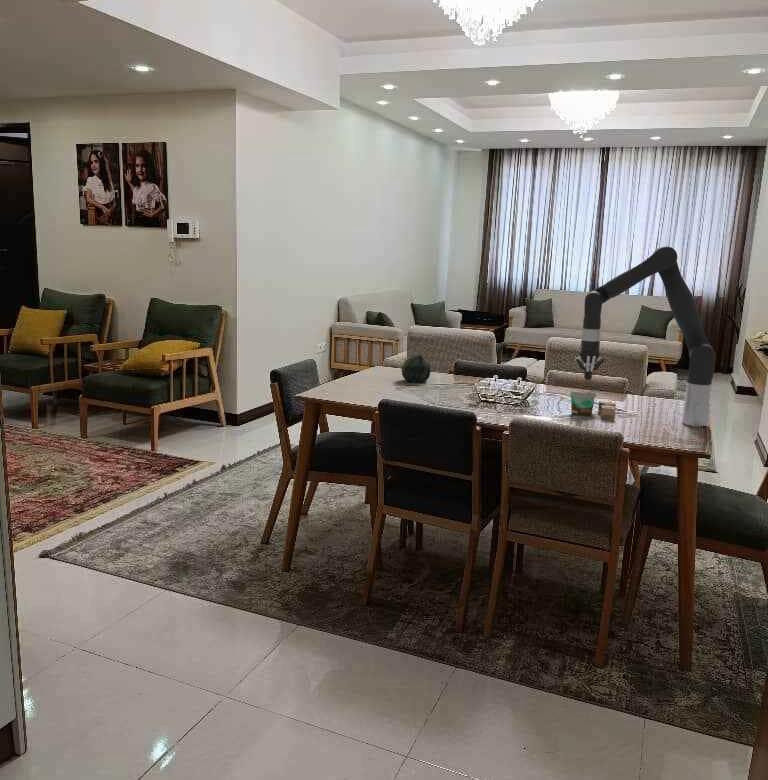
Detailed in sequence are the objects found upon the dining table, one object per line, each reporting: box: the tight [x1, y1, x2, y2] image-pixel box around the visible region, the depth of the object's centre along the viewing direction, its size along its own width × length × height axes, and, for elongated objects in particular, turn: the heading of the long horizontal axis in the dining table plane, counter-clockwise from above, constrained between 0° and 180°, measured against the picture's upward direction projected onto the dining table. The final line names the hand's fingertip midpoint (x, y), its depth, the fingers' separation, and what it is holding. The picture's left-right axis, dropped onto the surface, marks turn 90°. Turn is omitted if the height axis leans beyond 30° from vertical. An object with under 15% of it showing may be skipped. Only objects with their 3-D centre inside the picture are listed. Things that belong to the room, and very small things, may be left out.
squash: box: [401, 354, 432, 383], centre depth 365 cm, size 14×15×15 cm
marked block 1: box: [597, 400, 617, 414], centre depth 304 cm, size 5×5×5 cm
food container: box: [569, 389, 597, 417], centre depth 302 cm, size 12×6×10 cm, turn 114°
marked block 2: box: [599, 405, 616, 421], centre depth 296 cm, size 5×5×5 cm
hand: (587, 379), depth 300 cm, fingers closed
